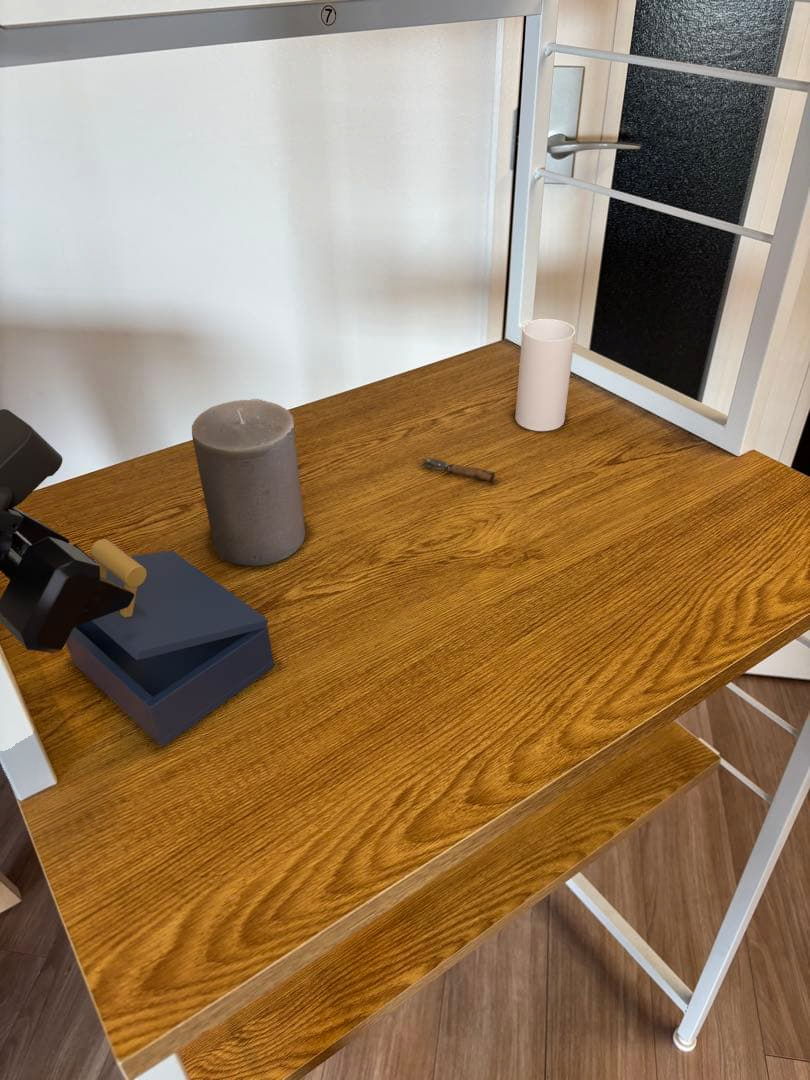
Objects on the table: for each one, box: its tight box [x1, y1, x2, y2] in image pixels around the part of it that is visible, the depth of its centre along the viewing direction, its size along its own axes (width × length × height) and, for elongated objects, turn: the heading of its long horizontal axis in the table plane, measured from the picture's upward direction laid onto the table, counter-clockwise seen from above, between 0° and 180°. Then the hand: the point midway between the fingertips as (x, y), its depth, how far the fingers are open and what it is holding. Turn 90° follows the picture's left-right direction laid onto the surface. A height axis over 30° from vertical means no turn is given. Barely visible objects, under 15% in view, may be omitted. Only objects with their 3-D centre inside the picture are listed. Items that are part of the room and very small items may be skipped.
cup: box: [514, 318, 576, 432], centre depth 101 cm, size 6×6×12 cm
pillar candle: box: [191, 398, 306, 567], centre depth 82 cm, size 10×10×15 cm
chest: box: [65, 621, 275, 748], centre depth 71 cm, size 12×14×5 cm
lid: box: [89, 538, 269, 660], centre depth 67 cm, size 12×14×5 cm
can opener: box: [421, 458, 496, 482], centre depth 95 cm, size 9×2×1 cm, turn 61°
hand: (97, 571), depth 62 cm, fingers open, 9 cm apart
